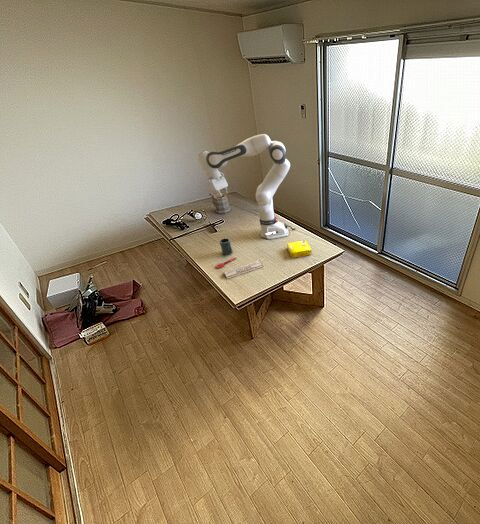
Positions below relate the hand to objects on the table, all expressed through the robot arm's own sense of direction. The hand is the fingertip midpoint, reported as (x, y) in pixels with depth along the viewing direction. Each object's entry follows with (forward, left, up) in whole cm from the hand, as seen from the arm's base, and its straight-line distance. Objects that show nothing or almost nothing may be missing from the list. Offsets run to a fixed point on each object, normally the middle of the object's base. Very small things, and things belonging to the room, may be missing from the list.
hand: (224, 195), depth 197 cm
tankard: (+18, -62, -36) cm, 74 cm away
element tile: (-48, +26, -36) cm, 65 cm away
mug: (+2, +19, -36) cm, 41 cm away
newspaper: (-10, +42, -36) cm, 57 cm away
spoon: (+2, +32, -36) cm, 48 cm away
